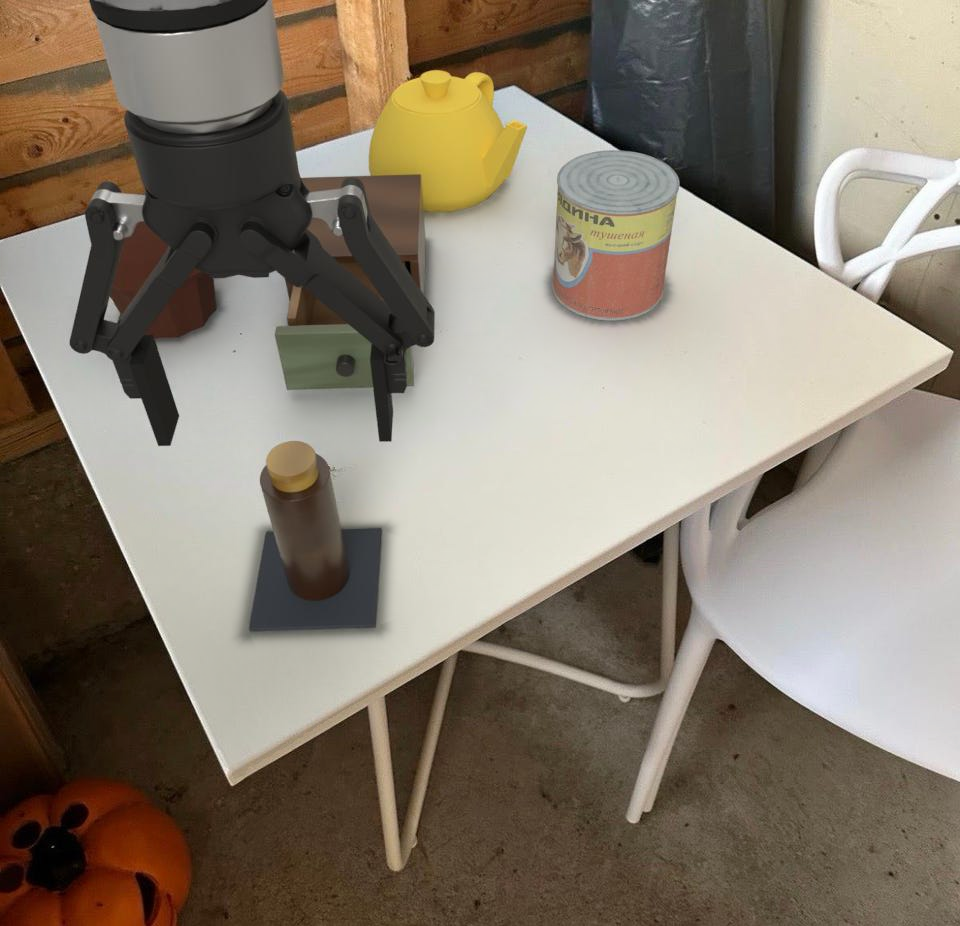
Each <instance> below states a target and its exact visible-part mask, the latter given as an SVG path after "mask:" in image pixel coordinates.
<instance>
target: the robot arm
mask: <svg viewBox="0 0 960 926" xmlns="http://www.w3.org/2000/svg"><path fill="white" fill-rule="evenodd" d="M88 1H89V5H90V8H91V9H90V10H91V12H92V13H93V17H94V20H95V24H96V27H97V31H98V34H99V38H100V41H101V46H102V49H103V53H104V57H105V58H106V63H107V67H108V70H109V74H110V78H111V81H112V85H113V89H114V92H115V96H116V99H117V101H118V103H119V104H120V106H122V108H123V109H125V110H126V111H125V114H124V118H123V119H124V120H123V121H124V125H125V129H126V132H127V136H128V139H129V142H130V146H131V149H132V153H133V156H134V160H135V164H136V167H137V171H138V174H139V177H140V182H141V183H142V185H143V188H144V190H145V194H137V193H125V192H122V190H121V188H120V187H119V185H117V184H115V183H114V182H112V181H107V180H106V181H102V182H100V183H99V185H97V188H96V190H95V192H94V193H93V196H92V197H91V199H90V201H89V203H88V205H87V207H86V209H85V211H84V219H85V223H86V226H87V231H88V237H89V241H90V248H89V249H90V250H89V254H88V257H87V263H86V267H85V272H84V275H83V280H82V285H81V289H80V294H79V299H78V302H77V307H76V312H75V316H74V319H73V320H74V321H73V325H72V329H71V333H70V338H69V346H70V347H71V349H72V350H73V351H74V352H76V353H78V354H82V355H85V354H89V353H91V352H92V351H95V352H99V353H102V354H104V355H105V356H107V358H108V359H109V360H111V361H112V363H113V366H114V368H115V371H116V374H117V377H118V379H119V382H120V384H121V387H122V390H123V392H124V394H125V395H126V396H127V397H128V398H129V399H133V400H134V399H136V400H137V399H141V402H142V404H143V407H144V410H145V413H146V416H147V418H148V421H149V424H150V427H151V430H152V432H153V436H154V438H155V441H156V443H157V447H170V446H172V442H173V439H174V435H175V431H176V429H177V425H178V422H179V419H180V413H179V411H178V408H177V404H176V401H175V398H174V395H173V391H172V389H171V385H170V383H169V380H168V377H167V373H166V370H165V367H164V363H163V361H162V357H161V355H160V351H159V348H158V345H157V343H156V342H157V341H156V339H154V336H153V335H144V334H145V333H146V332H147V330H148V329H149V328H150V326H151V325H152V323H153V322H154V321H155V319H156V318H157V317H158V315H159V314H160V312H161V311H162V310H163V308H164V307H165V305H166V304H167V303H168V301H169V300H170V299H171V297H172V296H173V294H174V293H175V292H176V290H177V289H178V290H179V289H180V288H181V286H182V285H183V284H184V282H185V281H186V279H187V278H188V277H189V275H190V274H191V273H192V271H193V270H194V268H196V269H197V270H199V271H201V272H203V273H206V274H209V277H210V278H214V279H227V278H231V277H234V276H244V277H249V278H254V279H260V278H261V279H262V278H263V279H264V278H270V275H271V273H274V272H276V273H278V274H279V275H280V276H282V278H284V280H285V279H287V280H288V281H289V282H290V283H291V284H293V285H294V286H296V287H298V288H299V287H304V288H305V289H306V290H308V291H309V292H310V293H311V294H313V295H314V296H315V297H316V298H317V299H319V300H320V301H321V302H322V303H323V304H325V305H326V306H327V307H328V308H329V309H331V310H332V311H333V312H334V313H335V314H337V315H338V316H339V317H340V318H342V319H343V320H344V321H345V322H346V323H348V324H349V325H350V326H351V327H352V328H354V329H355V330H356V331H357V332H358V333H360V334H361V335H362V336H363V337H365V338H366V339H367V340H368V341H369V342H371V343H372V344H371V355H370V364H371V373H372V382H373V388H372V391H373V397H374V399H373V400H374V407H375V408H374V409H375V416H376V425H377V433H378V441H379V442H380V443H381V442H382V443H383V442H384V443H386V442H389V443H390V442H392V438H393V422H394V404H393V396H392V394H404V393H405V391H406V389H407V387H408V386H407V359H406V350H407V349H408V348H409V347H413V346H417V347H420V348H427V347H430V346H432V345H433V343H434V342H435V321H436V319H435V318H436V317H435V315H436V314H435V310H434V308H433V306H432V304H431V303H430V302H429V300H428V298H427V297H426V296H425V293H424V294H423V293H422V291H421V290H420V288H419V287H418V285H417V284H416V282H415V281H414V279H413V278H412V276H411V275H410V273H409V272H408V270H407V269H406V267H405V266H404V264H403V263H402V261H401V260H400V258H399V257H398V255H397V254H396V252H395V251H394V249H393V248H392V246H391V245H390V243H389V242H388V240H387V239H386V237H385V236H384V234H383V233H382V231H381V230H380V228H379V227H378V225H377V224H376V222H375V221H374V219H373V218H372V216H371V214H370V209H369V205H368V201H367V196H366V192H365V188H364V185H363V183H362V182H361V181H360V180H359V179H357V178H353V177H350V178H347V179H345V180H344V181H343V182H342V185H341V189H333V190H325V191H316V192H310V191H309V190H308V189H307V187H306V186H305V185H304V183H303V181H302V179H301V178H302V177H301V175H300V170H299V164H298V157H297V151H296V145H295V139H294V132H293V125H292V119H291V113H290V106H289V100H288V97H287V95H286V94H285V93H284V91H282V90H281V89H282V88H283V84H284V81H285V74H284V67H283V59H282V54H281V53H282V52H281V47H280V41H279V35H278V29H277V24H276V16H275V11H274V10H275V9H274V5H273V0H88ZM312 219H321V220H322V221H324V222H325V223H326V224H327V225H328V227H329V229H330V230H331V231H332V232H333V234H334V235H335V236H342V235H343V237H344V240H345V243H346V245H347V247H348V249H349V251H350V252H351V254H352V256H353V257H354V259H355V260H356V261H357V263H358V264H359V266H360V267H361V268H362V270H363V271H364V273H365V274H366V276H367V277H368V278H369V280H370V281H371V283H372V284H373V285H374V287H375V288H376V290H377V291H378V292H379V294H380V295H381V297H382V298H383V299H384V301H385V302H386V303H385V302H384V301H382V300H381V299H380V298H379V297H378V296H377V295H375V294H374V293H373V292H372V291H371V290H370V289H369V288H367V287H366V286H365V285H364V284H363V283H362V282H361V281H359V280H358V279H357V278H356V277H355V276H354V275H353V274H351V273H350V272H349V271H348V270H347V269H346V268H344V267H343V266H342V265H341V264H340V263H339V262H338V261H336V260H335V259H334V258H333V257H332V256H331V255H330V254H328V253H327V252H326V251H325V250H324V249H323V248H322V246H321V243H320V241H319V240H318V238H317V237H316V236H315V235H313V234H312V233H311V232H310V231H309V230H308V229H307V228H308V227H309V225H310V223H311V220H312ZM139 222H145V223H146V225H147V226H148V227H149V228H150V229H151V230H152V231H153V232H154V233H155V234H156V235H157V236H159V237H160V238H161V239H162V240H163V241H164V242H165V243H167V244H168V245H169V247H168V249H167V250H166V252H165V254H164V255H163V256H162V258H161V259H160V261H159V262H158V264H157V265H156V267H155V268H154V269H153V271H152V272H151V274H150V275H149V277H148V278H147V280H146V281H145V282H144V284H143V285H142V287H141V288H140V290H139V291H138V293H137V294H136V295H135V297H134V298H133V300H132V301H131V303H130V304H129V306H128V307H127V309H126V310H125V311H124V313H123V314H122V315H121V314H120V313H119V316H118V318H117V321H115V322H114V321H111V320H108V319H105V316H106V314H107V309H108V305H109V300H110V298H111V297H110V294H111V290H112V286H113V282H114V278H115V274H116V270H117V266H118V262H119V258H120V254H121V250H122V246H123V242H124V238H128V237H130V236H131V235H132V234H133V232H134V230H135V227H136V225H137V223H139ZM293 249H294V251H295V254H294V253H293V252H292V251H293Z"/></svg>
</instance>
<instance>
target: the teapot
mask: <svg viewBox="0 0 960 926" xmlns="http://www.w3.org/2000/svg"><path fill="white" fill-rule="evenodd" d="M494 86H495V85H494V82H493V80H492V77H490V75H488V74H486V73H483V72H480V71H474V72H471V73H468V75H466V76H465V77H464V78H462V77H458V76H452V75H451V74H450V72H448V71H445V70H439V69H433V70H429V71H425V72H423V73H422V74H421V75H420V77H416V78H413V79H410V80H408V81H405V82H403V83H402V84H400V85H399V86H398V87H397V88H395V90H394V91H393V92H392V93H391V95H390V96H389V97H388V100H387V101H386V103H385V105H384V107H383V109H382V111H381V112H380V114H379V117H378V119H377V121H376V122H375V125H374V128H373V131H372V135H371V138H370V143H369V149H368V150H369V151H368V172H369V176H379V175H413V174H421V182H422V195H423V210H424V212H430V213H445V212H447V213H448V212H455V211H460V210H465V209H467V208H471V207H474V206H476V205H479V204H480V203H482V202H484V201H485V200H487V199H488V198H489V197H491V196H492V195H493V194H494V193H495V192H496V191H497V190H498V189H499V188H500V187H501V186H502V184H503V183H504V182H505V181H506V179H507V178H510V176H511V174H512V171H513V168H514V165H515V162H516V160H517V157H518V154H519V152H520V149H521V146H522V144H523V141H524V138H525V135H526V132H527V129H528V125H527V124H525V123H522V122H520V121H517V120H515V119H513V120H511V121H509V122H508V123H506V124H503V122H502V120H501V118H500V117H499V115H498V113H497V112H496V110H495V109H494V107H493V106H494V98H495V87H494ZM504 125H505V127H504Z"/></svg>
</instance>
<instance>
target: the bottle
mask: <svg viewBox="0 0 960 926" xmlns="http://www.w3.org/2000/svg"><path fill="white" fill-rule="evenodd" d="M259 484H260V489H261V492H262V496H263V500H264V502H265V506H266V510H267V514H268V517H269V520H270V524H271V528H272V531H273V532H274V535H275V539H276V542H277V546H278V550H279V553H280V557H281V560H282V564H283V568H284V571H285V575H286V578H287V582H288V585H289V588H290V590H291V591H292V592H293V593H294V594H295V595H296V596H298V597H299V598H301V599H304V600H308V601H321V600H325V599H328V598H331V597H333V596H335V595H336V594H338V593H339V592H340V591H341V590H342V589H343V588H344V587H345V585H346V584H347V582H348V579H349V566H348V561H347V556H346V551H345V546H344V540H343V535H342V530H341V529H342V526H341V522H340V515H339V510H338V506H337V505H338V504H337V500H336V496H335V489H334V484H333V479H332V473H331V470H330V466H329V464H328V462H327V460H325V458H324V457H322V456H321V455H319V454H318V453H316V451H315V449H314V448H313V447H312V446H311V445H310V444H309V443H306V442H304V441H299V440H290V441H284V442H282V443H279V444H278V445H276V446H274V447H273V448H272V449H271V450H270V451H269V452H268V454H267V455H266V459H265V465H264V467H263V468H262V470H261V472H260V476H259Z"/></svg>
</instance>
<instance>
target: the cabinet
mask: <svg viewBox="0 0 960 926" xmlns="http://www.w3.org/2000/svg"><path fill="white" fill-rule="evenodd" d="M350 177H353V178H357V179H359V180H360V181H361V182H362V183H363V185H364V188H365V192H366V196H367V201H368V205H369V209H370V214H371V216H372V218H373V219H374V221H375V222H376V224H377V225H378V227H379V228H380V230H381V231H382V233H383V234H384V236H385V237H386V239H387V240H388V242H389V243H390V245H391V246H392V248H393V249H394V251H395V252H396V254H397V255H398V257H399V258H400V260H401V261H407V265H408V272H409V273H410V275H411V276H412V278H413V279H414V281H415V282H416V284H417V285H418V287H419V288H420V290H421V291H422V293H423V294H424V295H425V283H426V282H425V280H426V249H427V248H426V247H427V246H426V245H427V241H426V224H425V211H424V210H423V195H422V182H421V174H413V175H379V176H371V175H348V176H347V175H346V176H320V177H319V176H317V177H316V176H315V177H314V176H313V177H301V179H302V181H303V183H304V185H305V186H306V187H307V189H308V190H309V191H310V192H316V191H325V190H333V189H341V185H342V182H343V181H344V180H345V179H347V178H350ZM307 229H308V230H309V231H310V232H311V233H312V234H313V235H315V236H316V237H317V238H318V240H319V241H320V243H321V246H322V248H323V249H324V250H325V251H326V252H327V253H328V254H330V255H331V256H332V257H333V258H334V259H335V260H336V261H338V262H339V263H357V261H356V260H355V259H354V257H353V256H352V254H351V252H350V251H349V249H348V247H347V245H346V243H345V240H344V237H343V235H342V236H335V235H334V234H333V232H332V231H331V230H330V229H329V227H328V225H327V224H326V223H325V222H324V221H322V220H321V219H312V220H311V223H310V225H309V227H308V228H307ZM292 252H293V253H294V254H295V251H294V249H293V251H292ZM284 281H285V286H286V291H287V296H288V301H289V302H290V300H291V295H292V289H293V284H291V283H290V282H289V281H288V280H287V279H285V278H284Z"/></svg>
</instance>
